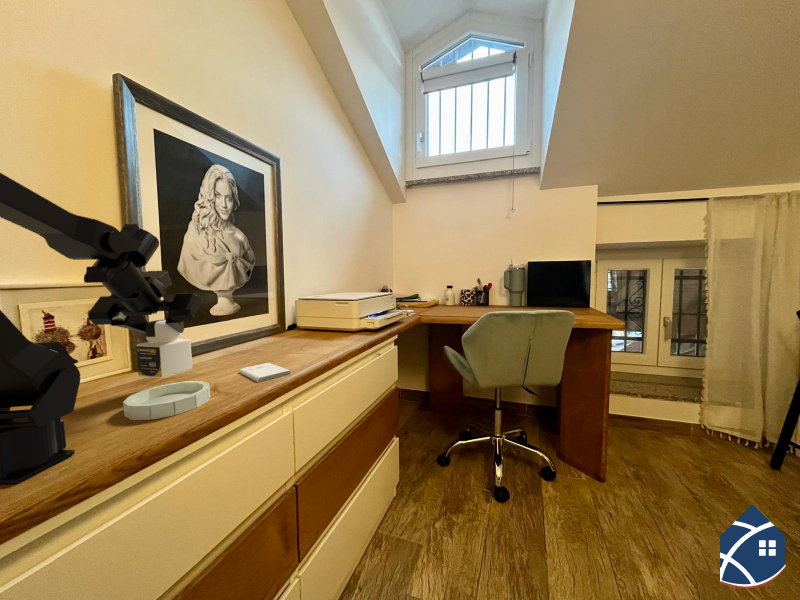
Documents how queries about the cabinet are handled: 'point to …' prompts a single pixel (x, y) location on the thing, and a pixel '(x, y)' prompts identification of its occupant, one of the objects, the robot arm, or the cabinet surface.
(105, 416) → the cabinet surface
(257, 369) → the external hard drive
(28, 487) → the cabinet surface
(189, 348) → the medicine bottle
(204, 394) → the pale green round tray
